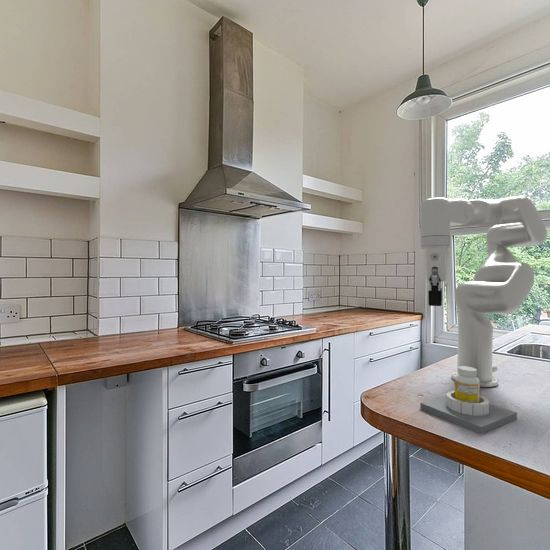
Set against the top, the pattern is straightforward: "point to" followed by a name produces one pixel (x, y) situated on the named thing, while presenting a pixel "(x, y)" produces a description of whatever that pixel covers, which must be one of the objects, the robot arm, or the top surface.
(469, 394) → the supplement bottle
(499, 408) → the socket board
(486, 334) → the robot arm
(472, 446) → the top surface
